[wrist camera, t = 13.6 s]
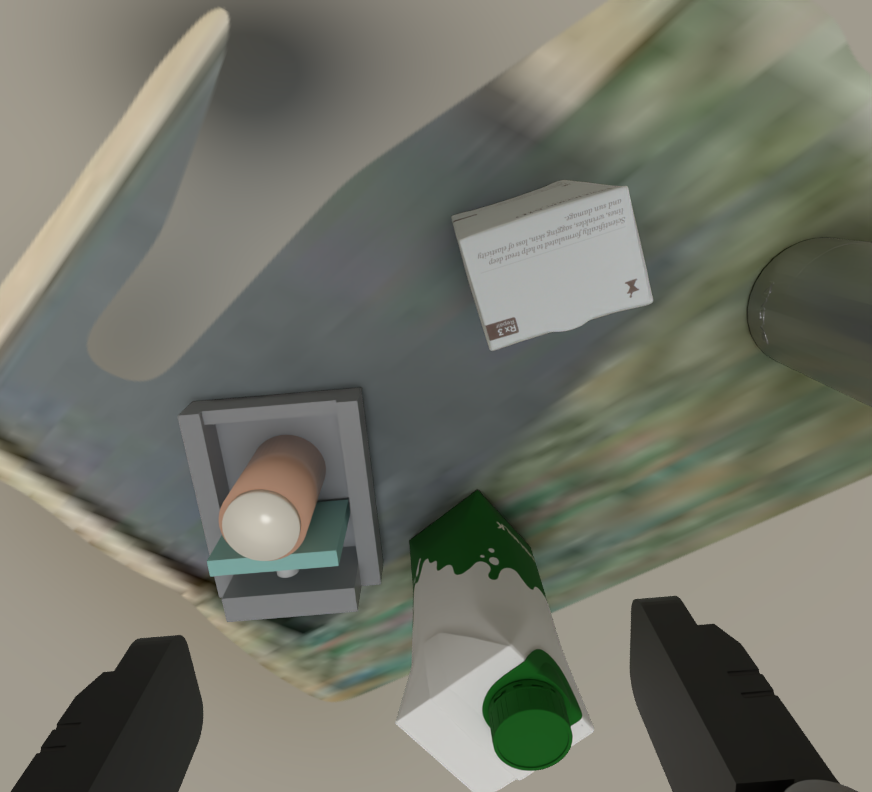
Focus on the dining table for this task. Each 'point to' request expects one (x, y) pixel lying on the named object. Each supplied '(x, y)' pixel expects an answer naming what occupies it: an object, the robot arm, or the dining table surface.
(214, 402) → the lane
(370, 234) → the dining table surface
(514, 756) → the milk carton
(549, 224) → the skincare box
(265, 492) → the jar
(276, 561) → the plate
